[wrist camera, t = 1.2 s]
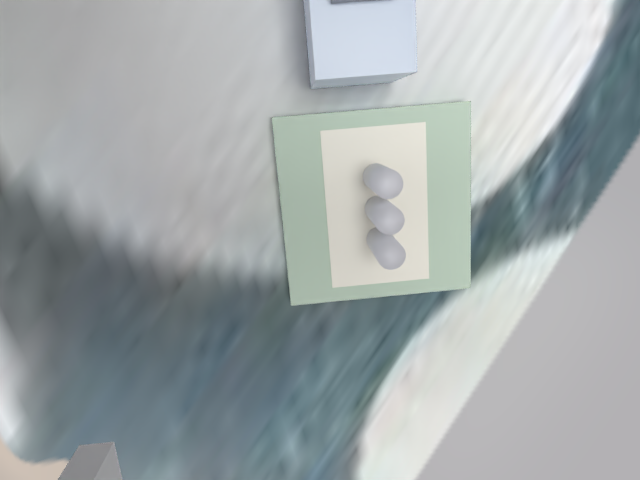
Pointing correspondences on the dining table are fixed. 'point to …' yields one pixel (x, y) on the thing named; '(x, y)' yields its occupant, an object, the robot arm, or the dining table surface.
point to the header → (375, 201)
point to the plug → (360, 41)
